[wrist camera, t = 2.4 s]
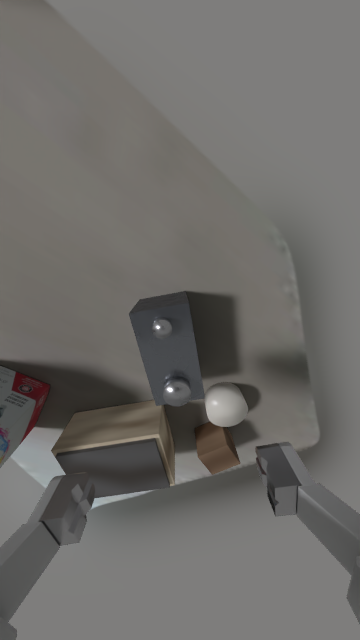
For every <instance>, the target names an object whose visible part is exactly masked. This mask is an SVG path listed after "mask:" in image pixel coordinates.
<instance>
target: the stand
mask: <svg viewBox="0 0 360 640" xmlns="http://www.w3.org/2000/svg"><path fill="white" fill-rule="evenodd" d="M51 451H52V453H53V454H54V456H55V458H56V459H57V461H58V462H59V464H60V466H61V467H62V469H63V470H64V472H65V474H66V475H70V474H77V473H84V472H87V473H88V475H89V476H90V477H89V479H88V480H89V481H91V482H93V484H94V486H95V496H94V498H99V497H106V496H113V495H120V494H127V493H134V492H141V491H148V490H155V489H162V488H168V487H170V486H173V485H175V445H174V441H173V437H172V434H171V430H170V426H169V423H168V419H167V415H166V412H165V408H164V405H159V406H156V404H155V401H154V400H151V401H145V402H138V403H132V404H126V405H120V406H114V407H108V408H102V409H96V410H89V411H83V412H77V413H74V415H73V417H72V418H71V420H70V421H69V423H68V425H67V426H66V428H65V429H64V431H63V432H62V434H61V436H60V437H59V439H58V440H57V442H56V444H55V445H54V447H53V448H52V450H51Z"/></svg>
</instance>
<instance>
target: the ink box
mask: <svg viewBox="0 0 360 640" xmlns="http://www.w3.org/2000/svg"><path fill="white" fill-rule="evenodd" d="M49 389H50V385H49V384H46V383H43V382H41V381H38V380H36V379H33V378H31V377H28V376H25V375H23V374H20V373H18V372H15V371H13V370H10V369H8V368H5V367H2V366H0V468H1V467H2V465H3V464H4V463H5V462H6V460H7V459H8V458H9V457H10V456H11V454H12V453H13V452H14V451H15V450H16V449H17V447H18V446H19V445H20V444H21V442H22V441H23V440H24V439H25V438H26V436H27V435H28V434H29V433H30V431H31V430H32V429H33V428H34V426H35V424H36V422H37V419H38V417H39V415H40V412H41V410H42V407H43V405H44V403H45V400H46V398H47V395H48V392H49Z"/></svg>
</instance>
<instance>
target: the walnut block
mask: <svg viewBox="0 0 360 640" xmlns="http://www.w3.org/2000/svg"><path fill="white" fill-rule="evenodd" d="M195 436H196V445H197V454H198V458H199V459H200V460H201V461H202V463H203V464H204V465H205V466H206V468H207V469H208V470H209V471H210V472H211V474H212V475H213V474H215V473H218V472H220V471H223V470H225V469H228V468H230V467H233V466H235V465H238V464H240V461H239V458H238V454H237V451H236V448H235V445H234V442H233V438H232V435H231V433H230V432H229V431H228V429H227V428H226V427H220V426H217V425H215V424H213V423H212V422H211V421H210V422H208V423H206V424H203V425H201V426H199V427H197V428H195Z"/></svg>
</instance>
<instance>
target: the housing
mask: <svg viewBox="0 0 360 640" xmlns="http://www.w3.org/2000/svg"><path fill="white" fill-rule="evenodd" d="M129 316H130V319H131V323H132V326H133V330H134V333H135V336H136V340H137V343H138V347H139V350H140V353H141V357H142V360H143V363H144V367H145V370H146V374H147V377H148V380H149V384H150V387H151V391H152V394H153V397H154V401H155V404H156V406H159V405H166V404H169V405H171V406H182V405H185V404H186V403H188V402H189V401H190V400H197V399H203V398H205V395H204V389H203V384H202V378H201V372H200V366H199V360H198V354H197V348H196V342H195V336H194V331H193V325H192V319H191V313H190V307H189V302H188V298H187V294H186V291H183V292H178V293H172V294H167V295H161V296H156V297H151V298H145V299H140V300H139V301H138V302H137V304H136V305H135V306H134V308H133V309H132V310H131V311H130V313H129Z"/></svg>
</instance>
